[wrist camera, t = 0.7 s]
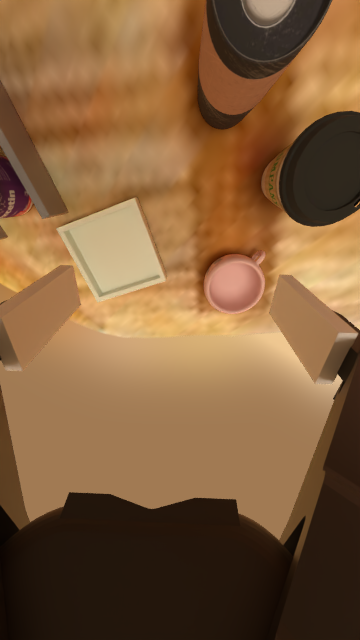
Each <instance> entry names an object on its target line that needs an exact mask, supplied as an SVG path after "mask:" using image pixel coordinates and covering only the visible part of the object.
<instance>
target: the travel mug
mask: <svg viewBox="0 0 360 640" xmlns="http://www.w3.org/2000/svg"><path fill="white" fill-rule="evenodd" d="M331 2H332V0H206V4H205V13H204V21H203V30H202V38H201V47H200V55H199V69H198V104H199V108H200V111H201V114H202V116H203V118H204V119H205V120H206V122H207V123H208V124H209V125H211V126H212V127H214V128H217V129H228V128H231V127H233V126H235V125H236V124H237V123H239V122H240V121H241V120H242V119H243V118H244V117H245V116H246V115H247V114H248V113H249V112H250V111H251V110H252V109H253V108H254V107H255V106H256V105H257V104H258V103H259V102H260V101H261V99H262V98H263V97H264V96H265V94H266V93H267V92H268V91H269V89H270V88H271V87H272V86H273V84H274V83H275V82H276V81H277V79H278V78H279V77H280V76H281V74H282V73H283V72H284V71H285V69H286V68H287V67H288V66H289V64H290V63H291V62H292V61H293V59H294V58H295V57H296V56H297V54H298V53H299V52H300V51H301V49H302V48H303V47H304V46H305V44H306V43H307V42H308V41H309V39H310V38H311V37H312V36H313V34H314V33H315V31H316V30H317V28H318V27H319V25H320V24H321V22H322V20H323V18H324V16H325V15H326V13H327V11H328V9H329V6H330V4H331Z"/></svg>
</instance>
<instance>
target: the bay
mask: <svg viewBox="0 0 360 640" xmlns="http://www.w3.org/2000/svg"><path fill="white" fill-rule="evenodd" d="M0 146H1V148H2V149H3V151H4V153H5V155H6V156H7V158H8V160H9V161H10V163H11V165H12V167H13V168H14V170H15V172H16V174H17V175H18V177H19V179H20V181H21V182H22V184H23V186H24V188H25V189H26V191H27V193H28V194H29V196H30V198H31V200H32V201H33V203H34V205H35V207H36V208H37V210H38V212H39V214H40V215H41V217H42V219H44V218H49V217H54V216H59V215H63V214H65V213H68V210H67V208H66V206H65V204H64V202H63V201H62V199H61V197H60V195H59V193H58V191H57V189H56V187H55V185H54V183H53V181H52V179H51V177H50V175H49V173H48V172H47V170H46V168H45V166H44V164H43V162H42V160H41V158H40V156H39V154H38V152H37V150H36V148H35V146H34V145H33V143H32V141H31V139H30V137H29V135H28V133H27V131H26V129H25V127H24V125H23V123H22V121H21V119H20V118H19V116H18V114H17V112H16V110H15V108H14V106H13V104H12V102H11V100H10V98H9V96H8V94H7V92H6V91H5V89H4V87H3V85H2V83H1V81H0ZM6 237H7V235H6V234H5V232H4V231H3V229H2V228H1V226H0V240H1V239H4V238H6Z"/></svg>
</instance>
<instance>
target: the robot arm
mask: <svg viewBox="0 0 360 640" xmlns="http://www.w3.org/2000/svg"><path fill="white" fill-rule="evenodd" d="M80 305H81V303H80V298H79V293H78V288H77V283H76V278H75V273H74V268H73V266H68V265H60V266H59V267H57V268H56V269H54V270H53V271H51V272H50V273H48V274H47V275H45V276H44V277H42V278H40V279H39V280H37V281H36V282H34V283H33V284H31V285H30V286H28V287H27V288H25V289H24V290H22V291H21V292H19V293H17V294H16V295H14V296H13V297H11V298H10V299H8V300H6V301H4V302H2V303H1V304H0V360H1V361H2V363H3V365H4V367H5V369H6V370H11V371H12V370H13V371H23V370H24V369H25V368H26V367H27V366H28V365H29V363H30V362H31V361H32V360H33V359H34V358H35V357H36V355H37V354H38V353H39V352H40V351H41V350H42V348H43V347H44V346H45V345H46V344H47V343H48V341H49V340H50V339H51V338H52V337H53V336H54V335H55V334H56V332H57V331H58V330H59V329H60V328H61V326H63V324H64V323H65V322H66V321H67V320H68V319H69V317H70V316H71V315H72V314H73V313H74V312H75V311H76V309H77V308H78V307H79V306H80ZM269 313H270V315H271V316H272V318H273V319H274V321H275V323H276V324H277V326H278V327H279V329H280V330H281V332H282V333H283V335H284V336H285V338H286V339H287V341H288V342H289V344H290V346H291V347H292V349H293V350H294V352H295V353H296V355H297V357H298V358H299V360H300V361H301V362H302V364H303V366H304V367H305V369H306V370H307V372H308V373H309V375H310V376H311V378H312V380H313V381H314V383H315V384H333V382H334V380H335V378H336V376H337V374H338V375H339V376H340V377H341V379H342V380H343V382H342V383H341V385H340V387H339V389H338V391H337V393H336V395H335V396H334V398H333V399H334V403H333V405H332V408H331V411H330V413H329V416H328V419H327V421H326V424H325V426H324V429H323V432H322V434H321V437H320V440H319V442H318V445H317V447H316V450H315V453H314V455H313V458H312V461H311V463H310V466H309V469H308V471H307V474H306V476H305V479H304V482H303V484H302V487H301V490H300V492H299V495H298V498H297V500H296V503H295V505H294V508H293V511H292V513H291V516H290V518H289V521H288V523H287V525H286V528H285V529H284V531H283V533H282V535H281V538H280V540H278V539H277V538H276V537H275V536H273V535H272V534H271V533H270V532H269V531H267V530H266V529H265V528H264V527H262V526H261V525H260V524H258V523H257V522H255V521H253V520H251V519H250V518H248V517H246V516H244V515H241V514H238V509H237V503H236V500H233V499H211V498H193V499H189V500H185V501H182V502H178V503H175V504H171V505H167V506H163V507H160V508H156V509H148V508H145V507H142V506H140V505H137V504H134V503H132V502H129V501H127V500H124V499H121V498H119V497H116V496H114V495H111V494H93V493H71V492H70V493H69V494H68V497H67V500H66V503H65V505H64V507H61V508H58V509H55V510H53V511H51V512H48V513H46V514H44V515H42V516H40V517H38V518H36V519H35V520H34V521H32V522H30V521H29V518H28V516H27V513H26V510H25V506H24V501H23V496H22V491H21V487H20V481H19V476H18V471H17V466H16V461H15V456H14V451H13V446H12V441H11V436H10V431H9V426H8V421H7V416H6V411H5V406H4V401H3V396H2V391H1V386H0V640H360V330H359V329H358V328H357V327H354V325H353V324H352V323H351V322H349V321H348V320H347V319H346V318H345V317H343V316H342V315H340V314H339V313H337V312H335V311H333V310H331V309H330V308H329V307H327V306H326V305H325V304H324V303H323V302H322V301H320V300H319V299H318V298H317V297H316V296H315V295H314V294H312V293H311V292H310V291H309V290H308V289H307V288H305V287H304V286H303V285H302V284H301V283H300V282H299V281H297V280H296V279H295V278H294V277H293V276H292V275H279V278H278V282H277V285H276V289H275V293H274V297H273V300H272V304H271V308H270V312H269Z"/></svg>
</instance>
